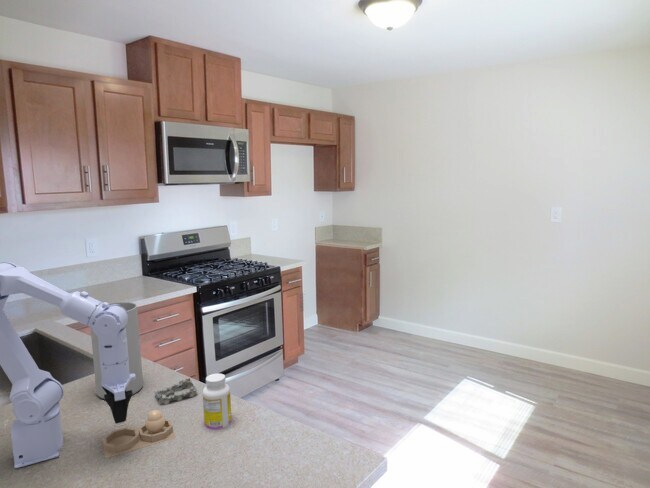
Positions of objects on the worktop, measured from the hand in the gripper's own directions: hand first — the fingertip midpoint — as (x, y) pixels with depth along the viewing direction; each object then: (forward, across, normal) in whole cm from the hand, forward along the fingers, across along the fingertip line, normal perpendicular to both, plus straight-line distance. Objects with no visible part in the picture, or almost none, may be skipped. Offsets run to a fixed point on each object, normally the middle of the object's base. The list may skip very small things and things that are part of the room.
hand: (119, 416), depth 101 cm
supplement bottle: (+8, -3, -22) cm, 23 cm away
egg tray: (+7, 0, -4) cm, 8 cm away
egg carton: (+8, +17, -16) cm, 24 cm away
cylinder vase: (+8, +31, -3) cm, 32 cm away
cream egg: (+2, 0, 0) cm, 2 cm away
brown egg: (+6, 0, -8) cm, 10 cm away
